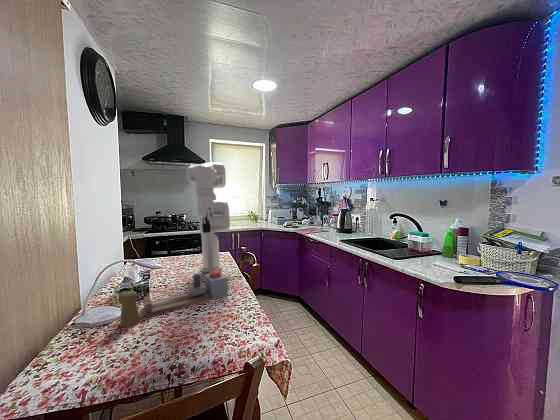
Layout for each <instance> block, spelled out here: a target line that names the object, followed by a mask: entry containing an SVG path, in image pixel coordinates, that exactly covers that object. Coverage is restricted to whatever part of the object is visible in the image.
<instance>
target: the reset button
mask: <svg viewBox="0 0 560 420" xmlns="http://www.w3.org/2000/svg"><path fill="white" fill-rule="evenodd" d="M209 273H210V275H211V278H217V277H220V274H221V273H222V269H220V270H213V271H210V272H209Z"/></svg>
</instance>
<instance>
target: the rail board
mask: <svg viewBox="0 0 560 420" xmlns="http://www.w3.org/2000/svg"><path fill="white" fill-rule="evenodd" d="M211 300H212V298H211V296H210V295H209V293H208V292H206V293H204V294H201V295H197V296H194V297H192V295H191V294H190V293H189V291H188V292H183V293H180V294H176V295H173V296H168V297H164V298H160V299H157V300H151V297H150V295H146V296H144V297H143V306H144V307H143V308H144V312H145V316H146V318H151V317H154V316H157V315H161V314H164V313H168V312H172V311H175V310H180V309H183V308H186V307H189V306H194V305H197V304H200V303H205V302H207V301H211Z"/></svg>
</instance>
